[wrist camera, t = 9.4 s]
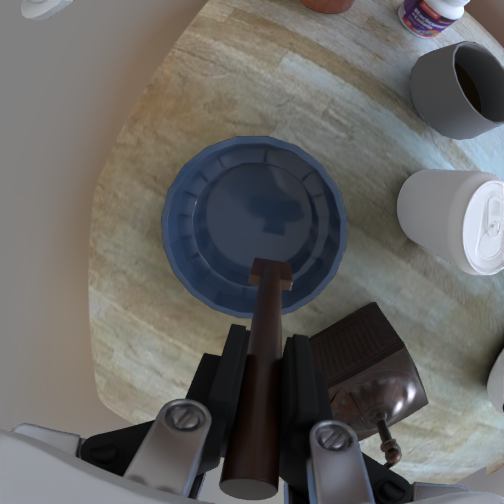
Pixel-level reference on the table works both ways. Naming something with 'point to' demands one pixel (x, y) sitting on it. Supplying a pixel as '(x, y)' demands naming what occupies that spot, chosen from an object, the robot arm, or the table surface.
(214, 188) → the bowl
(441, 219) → the beverage can
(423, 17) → the pill bottle
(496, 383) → the milk container
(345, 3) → the utensil pot
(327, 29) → the table surface
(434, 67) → the cup
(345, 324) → the manual coffee grinder
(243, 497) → the stirring stick
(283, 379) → the robot arm
